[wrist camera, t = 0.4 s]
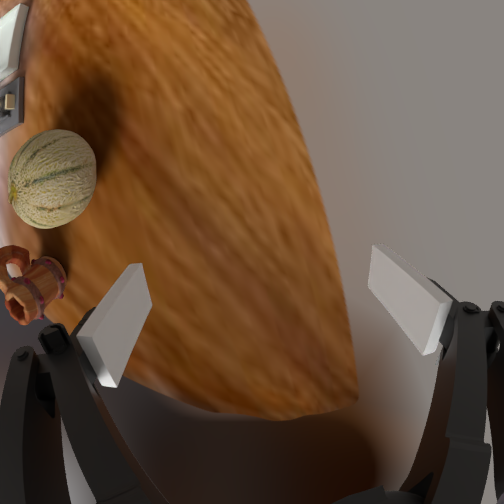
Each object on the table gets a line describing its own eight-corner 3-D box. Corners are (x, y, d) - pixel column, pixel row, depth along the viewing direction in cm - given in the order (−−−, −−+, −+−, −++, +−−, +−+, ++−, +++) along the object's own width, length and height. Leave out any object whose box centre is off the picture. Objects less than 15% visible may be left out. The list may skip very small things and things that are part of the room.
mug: (80, 281, 44) (39, 326, 30) (60, 299, 45) (22, 341, 31) (38, 220, 39) (-13, 248, 25) (21, 243, 40) (-25, 273, 27)
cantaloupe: (128, 164, 38) (79, 175, 24) (83, 231, 41) (33, 266, 27) (73, 112, 33) (16, 107, 19) (34, 180, 37) (-21, 198, 23)
